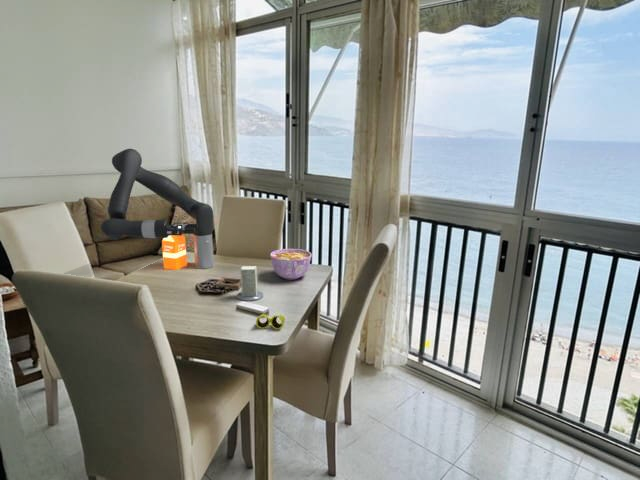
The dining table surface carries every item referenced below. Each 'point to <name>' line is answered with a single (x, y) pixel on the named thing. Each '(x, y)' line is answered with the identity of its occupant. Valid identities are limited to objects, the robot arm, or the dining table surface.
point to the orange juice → (174, 252)
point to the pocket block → (233, 286)
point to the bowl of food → (290, 262)
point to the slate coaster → (250, 297)
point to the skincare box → (249, 280)
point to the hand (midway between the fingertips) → (196, 228)
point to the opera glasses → (273, 322)
